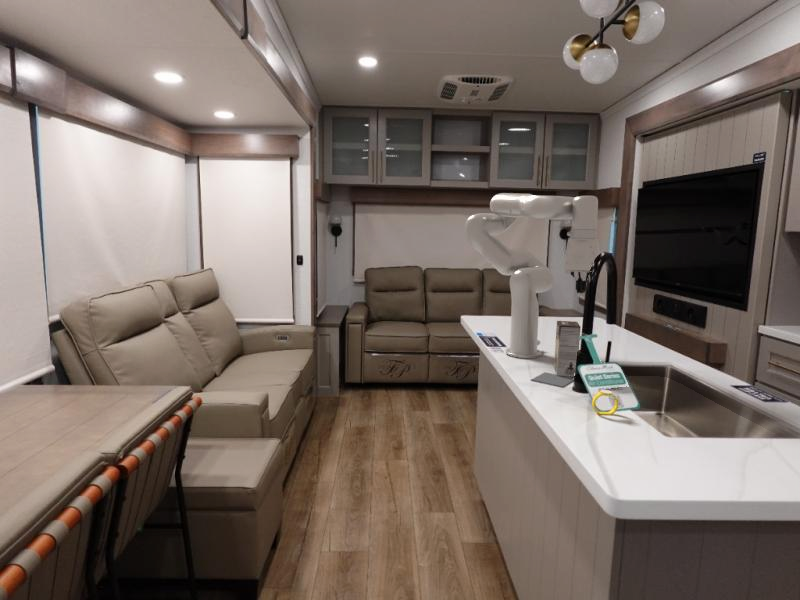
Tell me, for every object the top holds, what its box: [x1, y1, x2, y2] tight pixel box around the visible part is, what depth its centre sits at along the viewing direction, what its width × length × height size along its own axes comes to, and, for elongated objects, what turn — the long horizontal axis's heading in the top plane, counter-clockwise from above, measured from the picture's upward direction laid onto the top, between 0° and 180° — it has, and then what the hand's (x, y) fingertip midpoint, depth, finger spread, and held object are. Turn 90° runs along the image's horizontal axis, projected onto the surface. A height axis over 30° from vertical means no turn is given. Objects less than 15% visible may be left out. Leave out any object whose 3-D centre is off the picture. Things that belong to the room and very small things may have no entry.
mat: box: [530, 372, 574, 388], centre depth 150 cm, size 10×10×1 cm
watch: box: [591, 389, 619, 416], centre depth 123 cm, size 6×3×6 cm, turn 87°
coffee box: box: [553, 320, 582, 378], centre depth 156 cm, size 9×6×16 cm
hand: (580, 292), depth 160 cm, fingers closed
